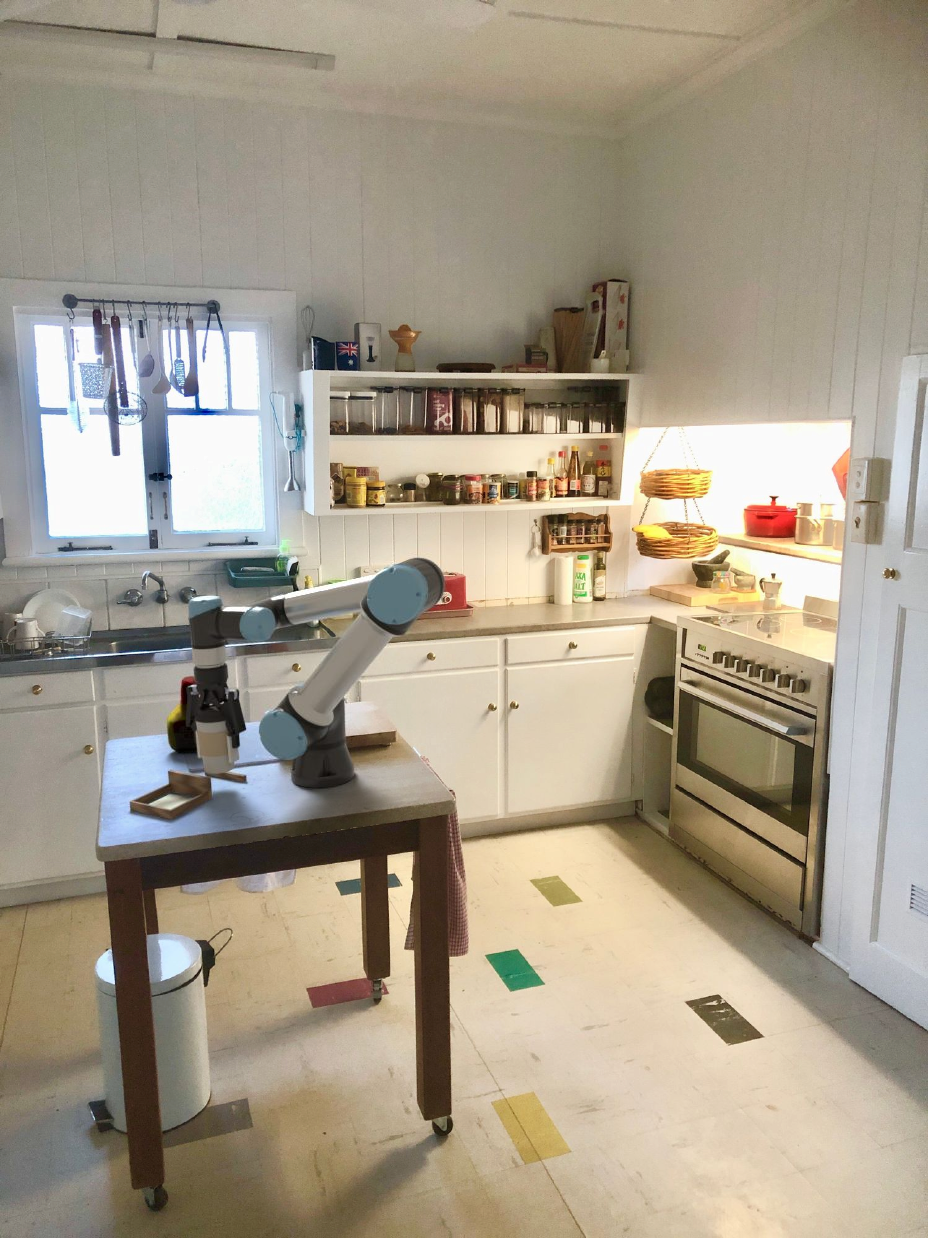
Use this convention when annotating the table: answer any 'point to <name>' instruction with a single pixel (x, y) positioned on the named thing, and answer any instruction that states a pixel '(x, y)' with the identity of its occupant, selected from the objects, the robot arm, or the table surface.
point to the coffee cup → (213, 740)
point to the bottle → (181, 723)
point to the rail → (230, 776)
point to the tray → (174, 803)
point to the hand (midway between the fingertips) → (218, 758)
